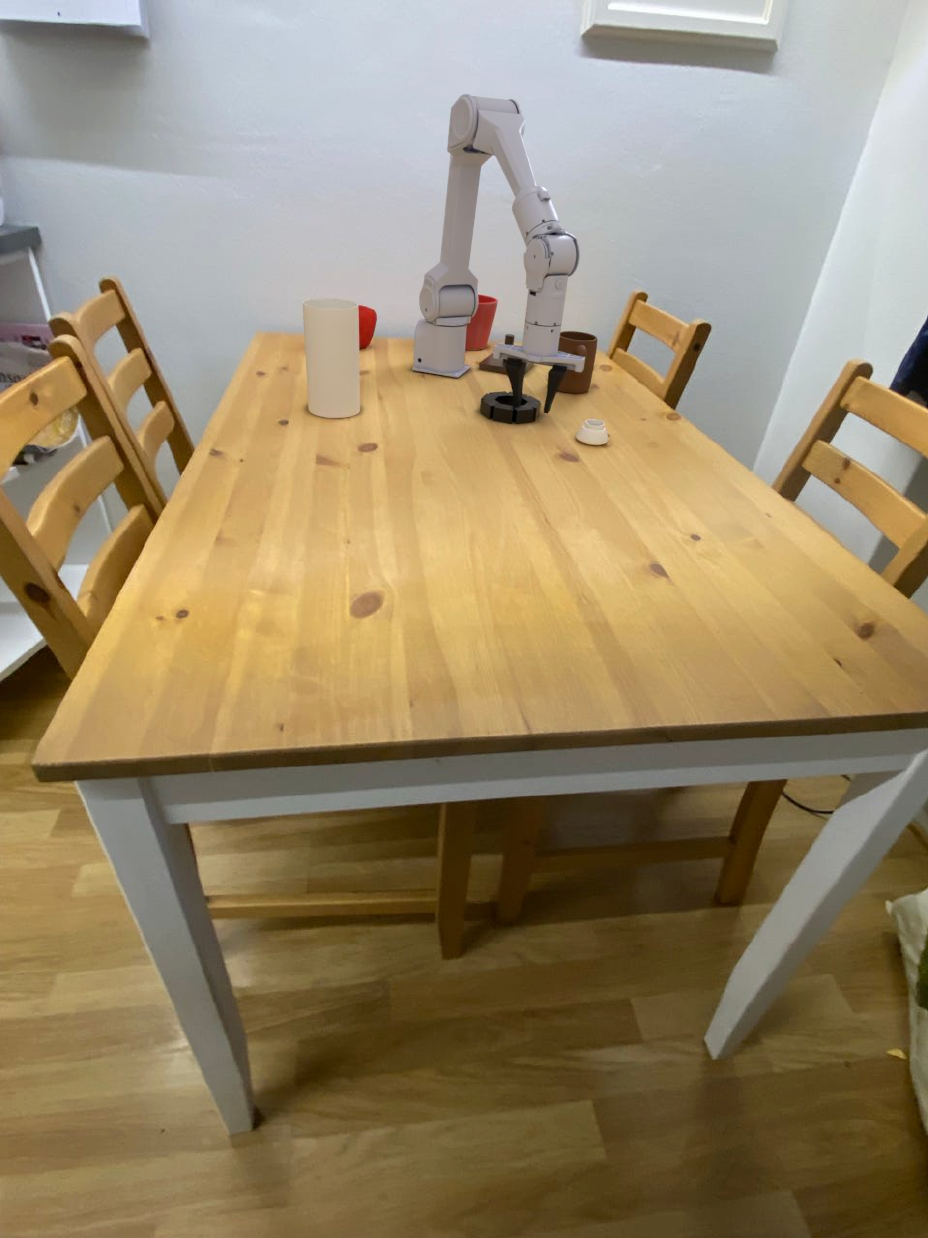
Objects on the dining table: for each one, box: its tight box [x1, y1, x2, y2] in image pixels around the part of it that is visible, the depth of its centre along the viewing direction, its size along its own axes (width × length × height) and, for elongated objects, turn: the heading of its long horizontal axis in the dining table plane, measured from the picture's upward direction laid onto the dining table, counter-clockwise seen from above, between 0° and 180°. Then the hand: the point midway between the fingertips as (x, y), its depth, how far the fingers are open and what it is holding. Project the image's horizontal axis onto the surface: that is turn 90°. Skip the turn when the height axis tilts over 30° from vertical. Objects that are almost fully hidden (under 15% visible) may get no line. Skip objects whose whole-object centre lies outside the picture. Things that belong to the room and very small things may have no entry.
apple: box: [358, 304, 378, 349], centre depth 143 cm, size 9×9×8 cm
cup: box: [302, 297, 361, 419], centre depth 108 cm, size 8×8×16 cm
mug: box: [551, 330, 599, 394], centre depth 127 cm, size 12×8×9 cm, turn 0°
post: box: [478, 333, 535, 376], centre depth 139 cm, size 9×9×6 cm
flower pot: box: [465, 294, 499, 351], centre depth 150 cm, size 11×11×10 cm
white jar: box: [575, 418, 610, 446], centre depth 108 cm, size 5×3×5 cm
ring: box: [479, 390, 542, 425], centre depth 117 cm, size 10×10×2 cm
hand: (532, 408), depth 116 cm, fingers open, 4 cm apart
